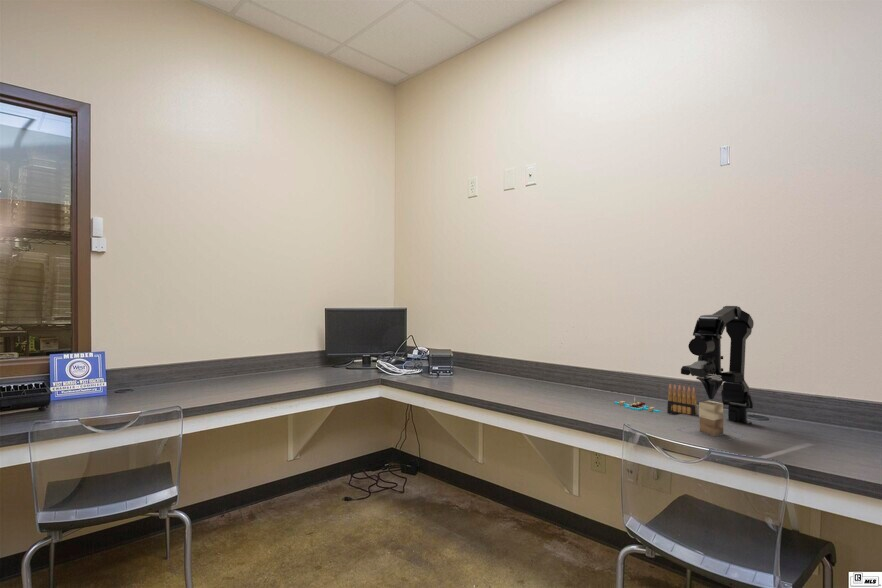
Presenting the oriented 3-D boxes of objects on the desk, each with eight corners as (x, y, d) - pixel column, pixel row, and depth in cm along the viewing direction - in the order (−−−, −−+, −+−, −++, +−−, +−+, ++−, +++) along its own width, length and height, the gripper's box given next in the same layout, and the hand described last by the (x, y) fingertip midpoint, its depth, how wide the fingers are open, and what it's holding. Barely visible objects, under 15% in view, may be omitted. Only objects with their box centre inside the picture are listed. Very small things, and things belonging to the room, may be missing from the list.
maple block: (708, 414, 156) (708, 400, 156) (723, 418, 152) (723, 403, 152) (699, 416, 154) (699, 402, 154) (713, 420, 150) (713, 405, 150)
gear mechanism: (622, 402, 202) (609, 405, 196) (622, 390, 202) (609, 393, 196) (666, 411, 186) (654, 415, 180) (666, 398, 186) (654, 401, 180)
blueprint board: (704, 426, 164) (703, 423, 164) (750, 438, 149) (750, 435, 149) (674, 432, 157) (674, 429, 157) (719, 446, 142) (719, 443, 142)
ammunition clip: (697, 417, 174) (697, 386, 174) (695, 418, 173) (695, 387, 173) (669, 412, 183) (668, 382, 183) (667, 413, 181) (666, 383, 181)
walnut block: (708, 429, 156) (708, 414, 156) (723, 433, 152) (723, 418, 152) (699, 431, 154) (699, 416, 154) (713, 435, 150) (713, 420, 150)
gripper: (669, 351, 158) (670, 396, 158) (723, 358, 141) (723, 408, 141) (691, 349, 163) (691, 392, 163) (745, 355, 146) (745, 404, 146)
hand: (711, 399), depth 153 cm, fingers closed
